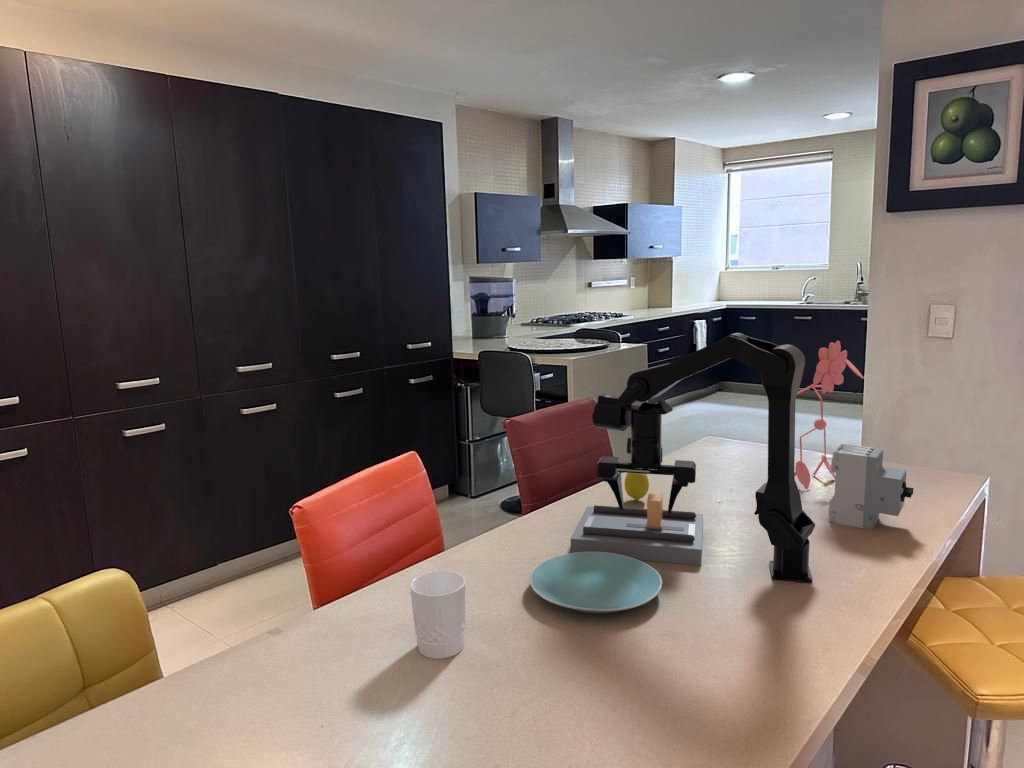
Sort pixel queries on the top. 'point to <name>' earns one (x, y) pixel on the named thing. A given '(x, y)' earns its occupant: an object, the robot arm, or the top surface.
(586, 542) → the panel
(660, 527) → the breaker handle
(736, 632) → the top surface
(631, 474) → the lemon
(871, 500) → the circuit breaker
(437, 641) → the white cup
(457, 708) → the top surface
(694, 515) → the grey slider track
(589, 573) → the plate
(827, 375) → the figurine
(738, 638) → the top surface
